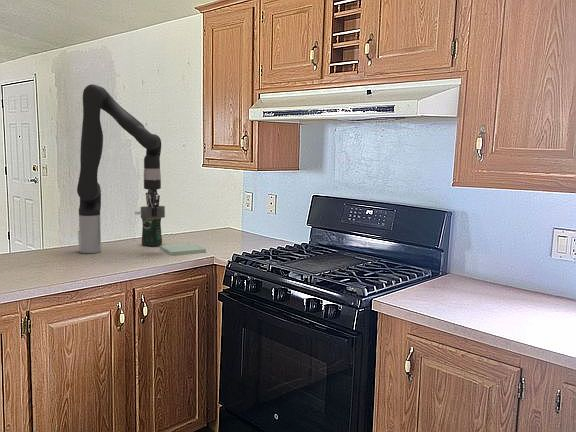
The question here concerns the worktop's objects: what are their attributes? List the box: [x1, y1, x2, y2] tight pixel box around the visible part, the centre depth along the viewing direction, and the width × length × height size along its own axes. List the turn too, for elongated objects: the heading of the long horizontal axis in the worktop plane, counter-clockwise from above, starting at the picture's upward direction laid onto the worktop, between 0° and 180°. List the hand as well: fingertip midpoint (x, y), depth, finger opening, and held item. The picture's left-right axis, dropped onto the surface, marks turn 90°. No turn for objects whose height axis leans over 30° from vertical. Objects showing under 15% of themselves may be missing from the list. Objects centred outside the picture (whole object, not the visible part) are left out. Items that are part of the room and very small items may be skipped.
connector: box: [134, 205, 166, 220], centre depth 239 cm, size 13×4×5 cm, turn 121°
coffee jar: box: [141, 218, 163, 247], centre depth 260 cm, size 10×8×19 cm
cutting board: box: [159, 242, 207, 257], centre depth 250 cm, size 17×16×2 cm
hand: (152, 215), depth 240 cm, fingers closed on connector, 4 cm apart
